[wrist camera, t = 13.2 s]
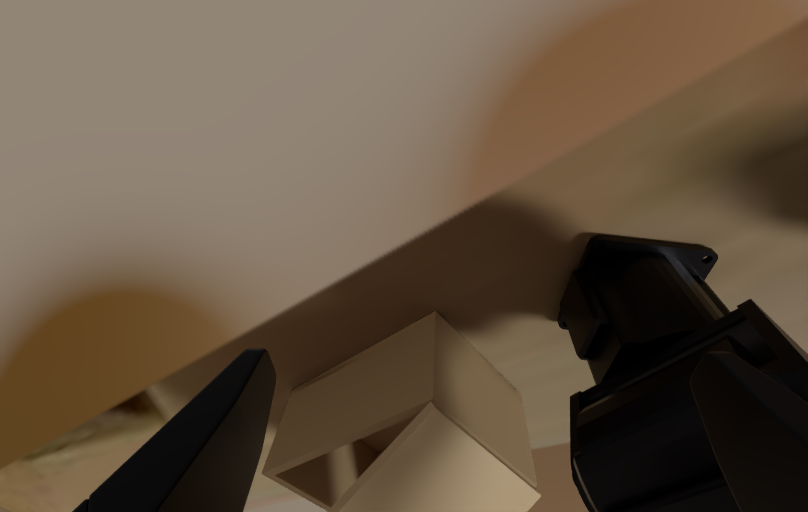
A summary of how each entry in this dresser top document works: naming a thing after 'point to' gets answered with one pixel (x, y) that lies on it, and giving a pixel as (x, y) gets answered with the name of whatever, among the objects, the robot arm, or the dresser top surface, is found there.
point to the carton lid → (437, 474)
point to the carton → (393, 410)
